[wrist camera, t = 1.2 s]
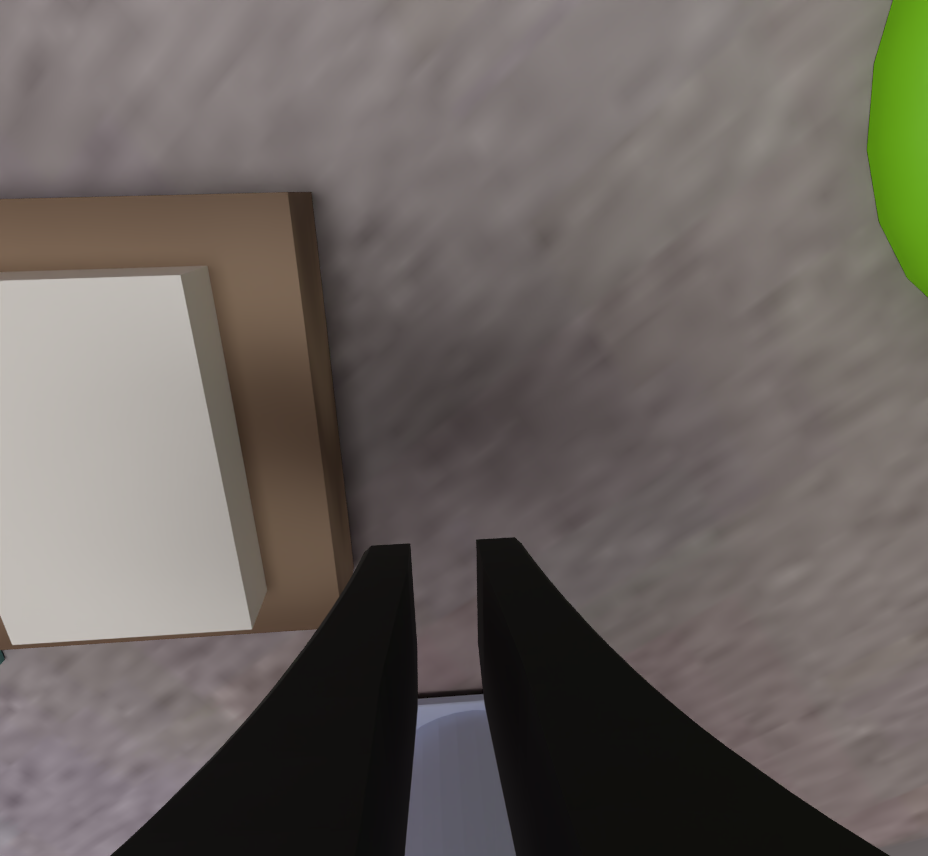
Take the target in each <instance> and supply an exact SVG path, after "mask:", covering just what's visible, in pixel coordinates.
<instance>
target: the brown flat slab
mask: <svg viewBox="0 0 928 856" xmlns="http://www.w3.org/2000/svg"><path fill="white" fill-rule="evenodd" d="M182 266H207V267H208V272H209V278H210V283H211V288H212V294H213V299H214V305H215V310H216V316H217V321H218V326H219V332H220V337H221V343H222V348H223V354H224V359H225V364H226V370H227V375H228V381H229V386H230V391H231V397H232V402H233V408H234V413H235V419H236V424H237V429H238V435H239V440H240V446H241V451H242V457H243V462H244V467H245V473H246V478H247V484H248V489H249V494H250V500H251V505H252V511H253V516H254V522H255V527H256V532H257V538H258V543H259V549H260V554H261V560H262V565H263V570H264V576H265V581H266V587H267V592H266V595H265V597H264V600H263V603H262V605H261V608H260V610H259V613H258V616H257V618H256V621H255V623H254V626H253V629H251V630H235V631H220V632H205V633H190V634H174V635H159V636H144V637H128V638H113V639H98V640H83V641H67V642H52V643H37V644H22V645H12V643H11V641H10V638H9V636H8V633H7V631H6V628H5V626H4V623H3V621H2V618H1V616H0V650H8V649H23V648H38V647H54V646H69V645H84V644H99V643H114V642H129V641H145V640H160V639H175V638H190V637H205V636H221V635H236V634H251V633H266V632H281V631H296V630H312V629H318V628H319V626H320V625H321V623H322V622H323V620H324V619H325V617H326V616H327V614H328V613H329V611H330V610H331V608H332V607H333V605H334V604H335V602H336V601H337V599H338V598H339V596H340V595H341V593H342V591H343V590H344V588H345V586H346V585H347V583H348V582H349V580H350V578H351V576H352V574H353V569H354V565H353V556H352V547H351V538H350V529H349V521H348V512H347V503H346V494H345V485H344V476H343V468H342V459H341V450H340V441H339V432H338V423H337V415H336V406H335V397H334V388H333V379H332V370H331V362H330V353H329V344H328V335H327V326H326V317H325V309H324V300H323V291H322V282H321V273H320V264H319V256H318V247H317V238H316V229H315V220H314V211H313V203H312V194H311V192H278V193H236V194H195V195H153V196H111V197H70V198H28V199H0V272H19V271H52V270H84V269H117V268H149V267H182Z"/></svg>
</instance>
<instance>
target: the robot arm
mask: <svg viewBox="0 0 928 856" xmlns="http://www.w3.org/2000/svg"><path fill="white" fill-rule="evenodd" d="M476 549H477V608H478V647H479V656H480V666H481V676H482V686H483V694H477V695H463V696H450V697H436V698H422V699H418V672H417V636H416V622H415V607H414V592H413V577H412V563H411V548H410V544H393V545H376V546H371V547H370V548H369V549H368V550H367V551H365V552H364V554H363V556H362V558H361V560H360V562H359V564H358V566H357V568H356V569H355V571H354V573H353V575H352V576H351V578H350V580H349V582H348V583H347V585H346V586H345V588H344V590H343V591H342V593H341V595H340V596H339V598H338V599H337V601H336V602H335V604H334V605H333V607H332V608H331V610H330V611H329V613H328V614H327V616H326V617H325V619H324V620H323V622H322V623H321V625H320V626H319V628H318V629H317V630H316V632H315V633H314V635H313V636H312V638H311V639H310V641H309V642H308V643H307V645H306V646H305V647H304V649H303V650H302V651H301V653H300V654H299V655H298V656H297V658H296V659H295V660H294V662H293V663H292V664H291V665H290V667H289V668H288V669H287V671H286V672H285V673H284V675H283V676H282V677H281V678H280V680H279V681H278V682H277V684H276V685H275V686H274V687H273V689H272V690H271V691H270V692H269V694H268V695H267V696H266V697H265V698H264V700H263V701H262V702H261V703H260V704H259V705H258V707H257V708H256V709H255V710H254V711H253V713H252V714H251V715H250V716H249V717H248V718H247V719H246V721H245V722H244V723H243V724H242V725H241V726H240V727H239V728H238V729H237V731H236V732H235V733H234V734H233V735H232V736H231V737H230V738H229V739H228V740H227V742H226V743H225V744H224V745H223V746H222V747H221V748H220V749H219V750H218V751H217V752H216V754H215V755H214V756H213V757H212V758H211V759H210V760H209V761H208V762H207V763H206V764H205V765H204V766H203V767H202V768H201V769H200V770H199V771H198V772H197V773H196V774H195V775H194V776H193V777H192V778H191V779H190V780H189V781H188V782H187V783H186V784H185V785H184V786H183V787H182V788H181V789H180V790H179V791H178V792H177V793H176V794H175V795H174V796H173V797H172V798H171V799H170V800H169V801H168V802H167V803H166V804H165V805H164V806H163V807H162V808H161V809H160V810H159V811H158V812H157V813H156V814H155V815H154V816H153V817H152V818H151V819H150V820H149V821H148V822H146V823H145V824H144V825H143V826H142V827H141V828H140V829H139V830H138V831H137V832H136V833H135V834H134V835H133V836H132V837H131V838H129V839H128V840H127V841H126V842H125V843H124V844H123V845H122V846H121V847H119V848H118V849H117V850H116V851H115V852H114V853H113V854H112V855H110V856H889V855H888V854H886V853H884V852H883V851H881V850H880V849H878V848H876V847H875V846H873V845H872V844H870V843H868V842H867V841H865V840H864V839H862V838H860V837H859V836H857V835H856V834H854V833H852V832H851V831H849V830H848V829H846V828H845V827H843V826H841V825H840V824H838V823H837V822H835V821H833V820H832V819H830V818H829V817H827V816H826V815H824V814H823V813H821V812H820V811H818V810H817V809H815V808H814V807H812V806H811V805H809V804H808V803H806V802H805V801H803V800H802V799H800V798H799V797H797V796H796V795H794V794H793V793H791V792H790V791H788V790H787V789H785V788H784V787H783V786H781V785H780V784H778V783H777V782H776V781H774V780H773V779H771V778H770V777H769V776H767V775H766V774H764V773H763V772H762V771H760V770H759V769H757V768H756V767H755V766H753V765H752V764H750V763H749V762H748V761H746V760H745V759H743V758H742V757H741V756H739V755H738V754H736V753H735V752H734V751H732V750H731V749H729V748H728V747H726V746H725V745H724V744H722V743H721V742H720V741H719V740H717V739H716V738H715V737H713V736H712V735H711V734H709V733H708V732H707V731H705V730H704V729H703V728H702V727H700V726H699V725H698V724H696V723H695V722H694V721H693V720H691V719H690V718H689V717H688V716H687V715H685V714H684V713H683V712H682V711H681V710H679V709H678V708H677V707H676V706H675V705H674V704H672V703H671V702H670V701H669V700H668V699H666V698H665V697H664V696H663V695H662V694H661V693H659V692H658V691H657V690H656V689H655V688H654V687H653V686H651V685H650V684H649V683H648V682H647V681H646V680H645V679H644V678H643V677H642V676H640V675H639V674H638V673H637V672H636V671H635V670H634V669H633V668H632V667H631V666H630V665H629V664H628V663H627V662H626V661H625V660H624V659H623V658H622V657H620V656H619V655H618V654H617V653H616V652H615V651H614V650H613V649H612V648H611V647H610V646H609V645H608V644H607V643H606V642H605V641H604V640H603V639H602V638H601V637H600V636H599V635H598V634H597V633H596V632H595V630H594V629H593V628H592V627H591V626H590V625H589V624H588V623H587V622H586V621H585V620H584V619H583V618H582V616H581V615H580V614H579V613H578V612H577V611H576V610H575V609H574V608H573V607H572V605H571V604H570V603H569V602H568V601H567V600H566V599H565V598H564V596H563V595H562V594H561V593H560V592H559V591H558V590H557V588H556V587H555V586H554V585H553V583H552V582H551V581H550V580H549V579H548V577H547V576H546V575H545V574H544V573H543V571H542V570H541V569H540V567H539V566H538V565H537V564H536V562H535V561H534V560H533V558H532V557H531V556H530V554H529V553H528V552H527V550H526V549H525V548H524V546H523V545H522V543H520V542H519V541H518V540H517V539H516V538H515V537H514V538H497V539H479V540H476Z"/></svg>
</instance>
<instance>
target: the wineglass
mask: <svg viewBox="0 0 928 856" xmlns="http://www.w3.org/2000/svg"><path fill="white" fill-rule="evenodd" d="M867 153H868V159H869V165H870V171H871V177H872V183H873V189H874V195H875V201H876V207H877V213H878V219H879V223H880V225H881V227H882V229H883V231H884V233H885V235H886V237H887V239H888V241H889V243H890V245H891V247H892V249H893V251H894V253H895V255H896V257H897V259H898V261H899V263H900V265H901V267H902V269H903V271H904V273H905V275H906V277H907V278H908V279H909V280H910V281H911V282H912V283H913V284H914V285H915V286H916V287H917V288H918V289H920V290H921V291H922V292H923V293H924V294H925V295H926V296H927V297H928V0H893V2H892V5H891V9H890V12H889V15H888V19H887V22H886V25H885V29H884V32H883V35H882V39H881V42H880V45H879V49H878V52H877V55H876V59H875V62H874V70H873V82H872V94H871V107H870V119H869V131H868V143H867Z"/></svg>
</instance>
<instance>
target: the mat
mask: <svg viewBox="0 0 928 856" xmlns="http://www.w3.org/2000/svg"><path fill="white" fill-rule="evenodd" d="M4 660H5V659H4V656H3V654H2V652H1V650H0V664H1V663H2V662H3V661H4Z"/></svg>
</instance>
